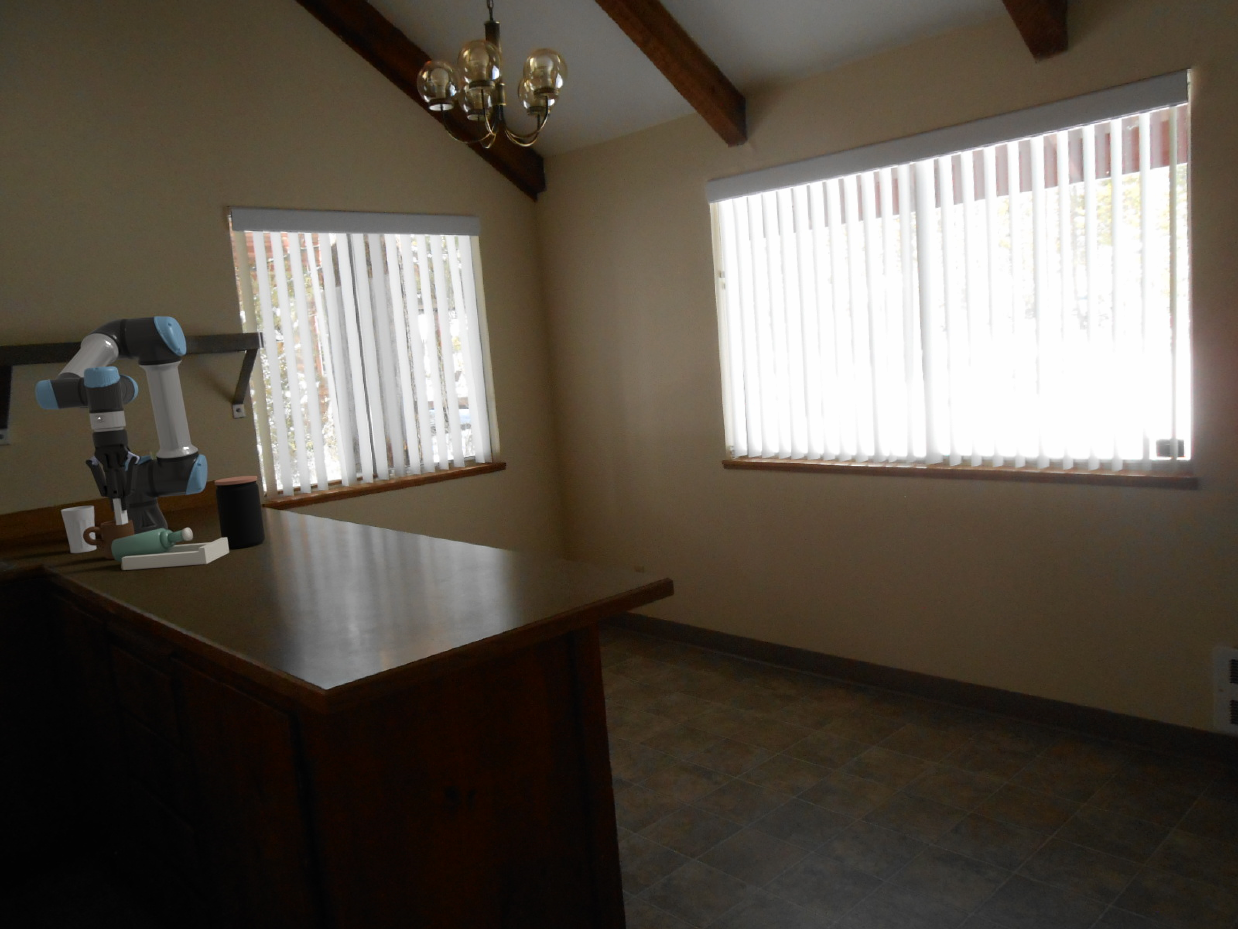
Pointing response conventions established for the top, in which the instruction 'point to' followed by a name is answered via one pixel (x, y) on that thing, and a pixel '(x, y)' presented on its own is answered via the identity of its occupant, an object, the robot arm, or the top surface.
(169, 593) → the top surface
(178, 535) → the bottle
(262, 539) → the coffee jar
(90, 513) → the cup
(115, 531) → the mug
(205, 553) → the rest
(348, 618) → the top surface
